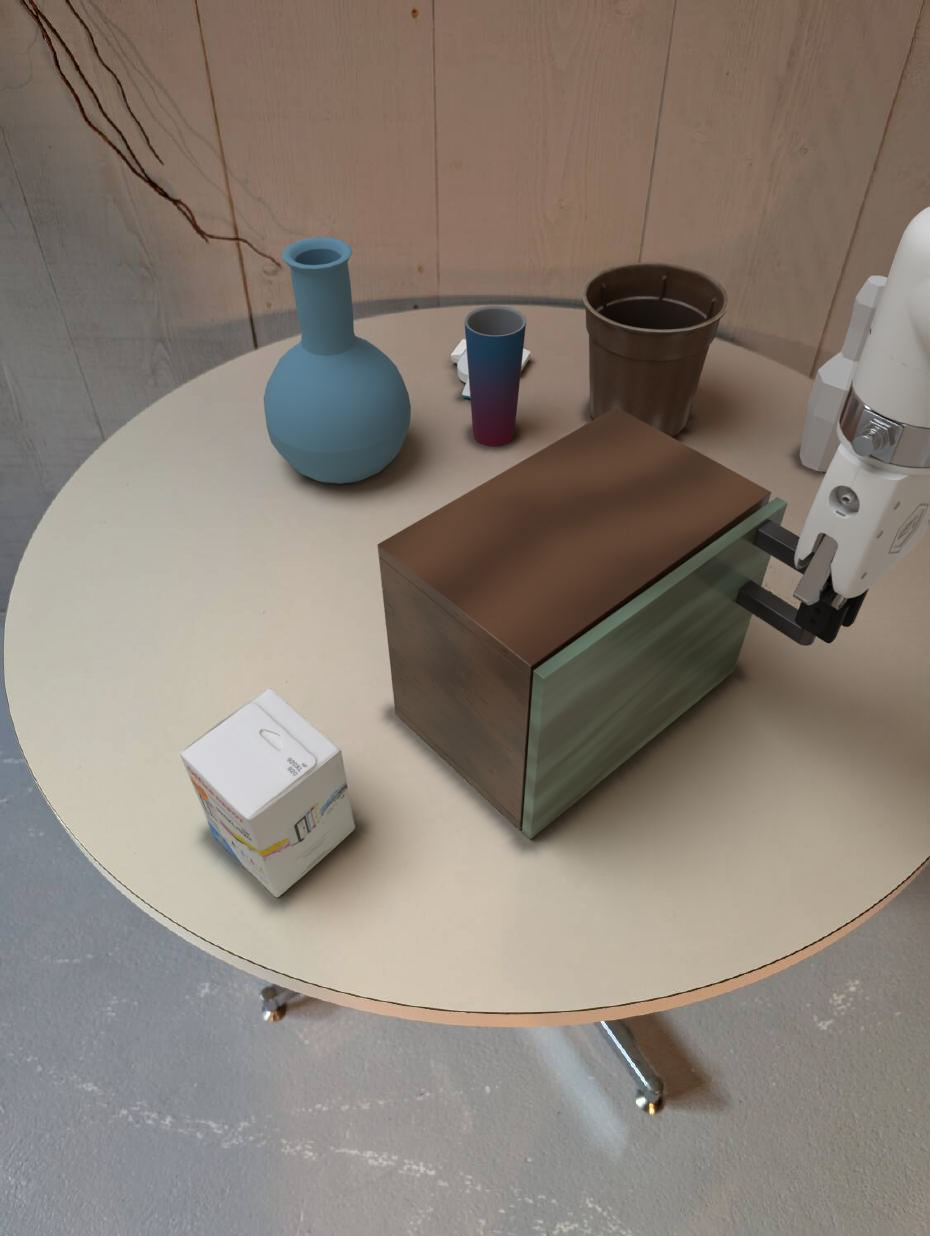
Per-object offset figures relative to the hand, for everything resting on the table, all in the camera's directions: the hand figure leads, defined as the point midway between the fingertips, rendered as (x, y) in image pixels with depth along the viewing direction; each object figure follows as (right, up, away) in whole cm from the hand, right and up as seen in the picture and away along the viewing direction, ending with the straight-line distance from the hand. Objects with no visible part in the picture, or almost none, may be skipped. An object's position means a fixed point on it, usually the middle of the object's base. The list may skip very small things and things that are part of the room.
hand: (823, 622), depth 69 cm
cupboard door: (-10, -13, +8) cm, 18 cm away
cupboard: (-18, -6, +14) cm, 24 cm away
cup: (-24, +23, +42) cm, 53 cm away
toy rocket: (-24, +34, +52) cm, 67 cm away
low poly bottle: (+14, +19, +38) cm, 45 cm away
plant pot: (-6, +25, +44) cm, 51 cm away
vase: (-42, +19, +39) cm, 60 cm away
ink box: (-42, -17, +5) cm, 46 cm away
